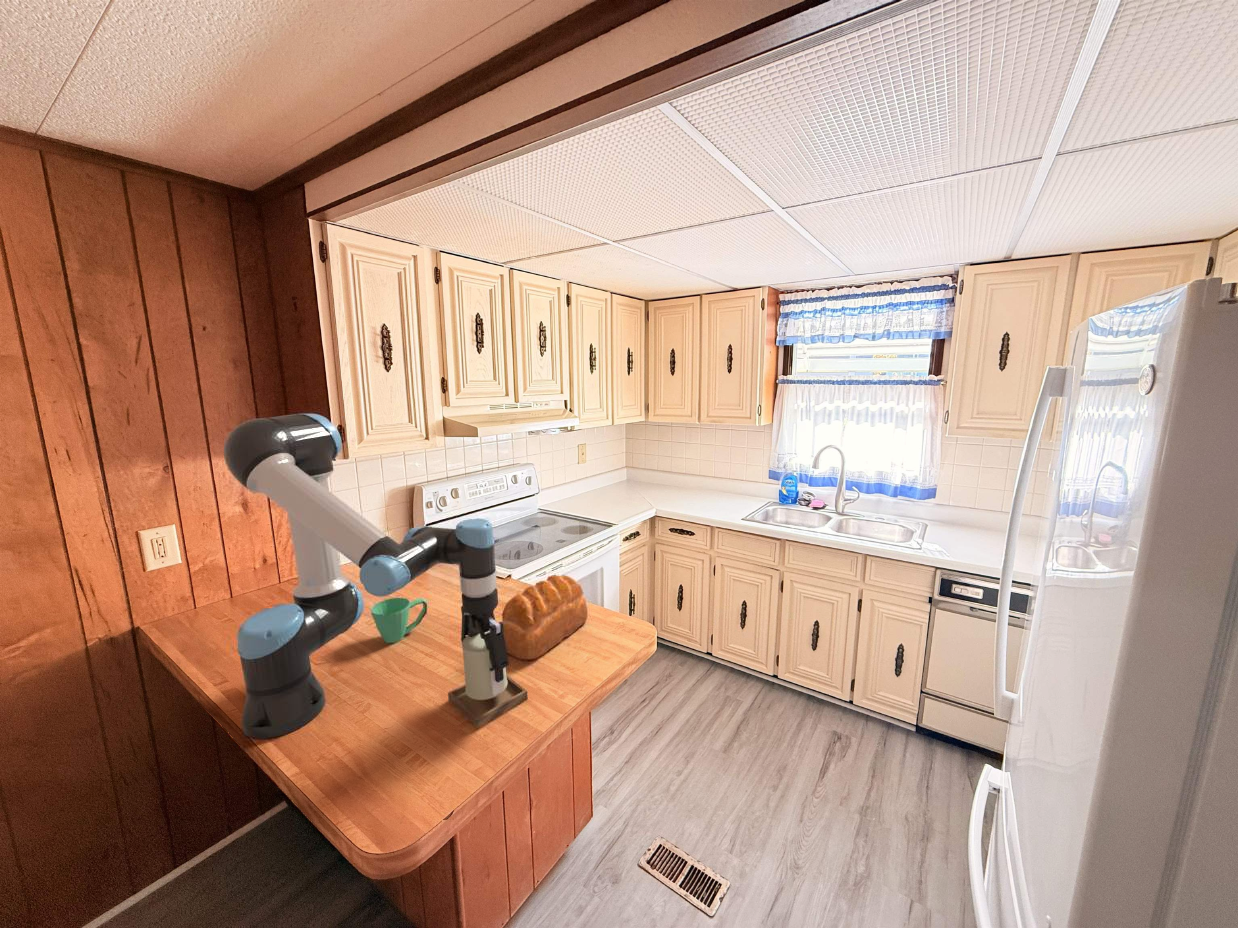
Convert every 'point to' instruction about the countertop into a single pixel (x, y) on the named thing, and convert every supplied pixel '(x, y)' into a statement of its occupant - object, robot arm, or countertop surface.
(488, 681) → the can
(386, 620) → the mug
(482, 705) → the tray
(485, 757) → the countertop surface
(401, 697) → the countertop surface
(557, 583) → the bread
